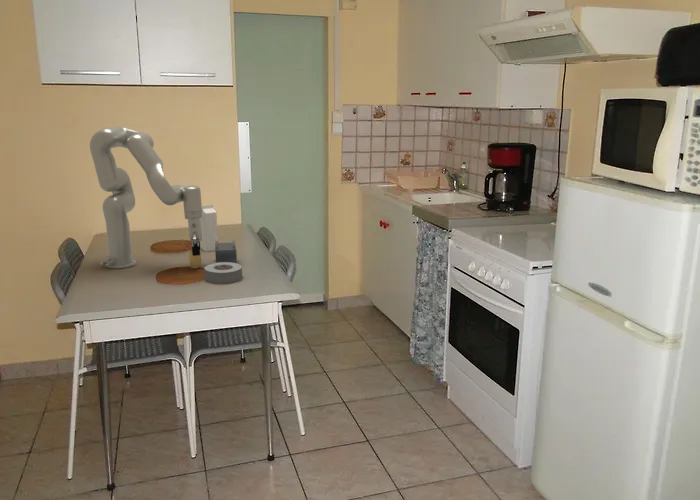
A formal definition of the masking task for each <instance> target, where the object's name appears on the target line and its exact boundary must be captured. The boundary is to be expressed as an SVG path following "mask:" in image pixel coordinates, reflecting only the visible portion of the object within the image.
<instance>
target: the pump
mask: <svg viewBox="0 0 700 500" xmlns="http://www.w3.org/2000/svg"><path fill="white" fill-rule="evenodd" d="M188 255H189V256H188V257H189V268H190V267H200V268H202V251H201V250H200V255H197V256H193V254H192V249H191V250H190V251H188Z"/></svg>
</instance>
